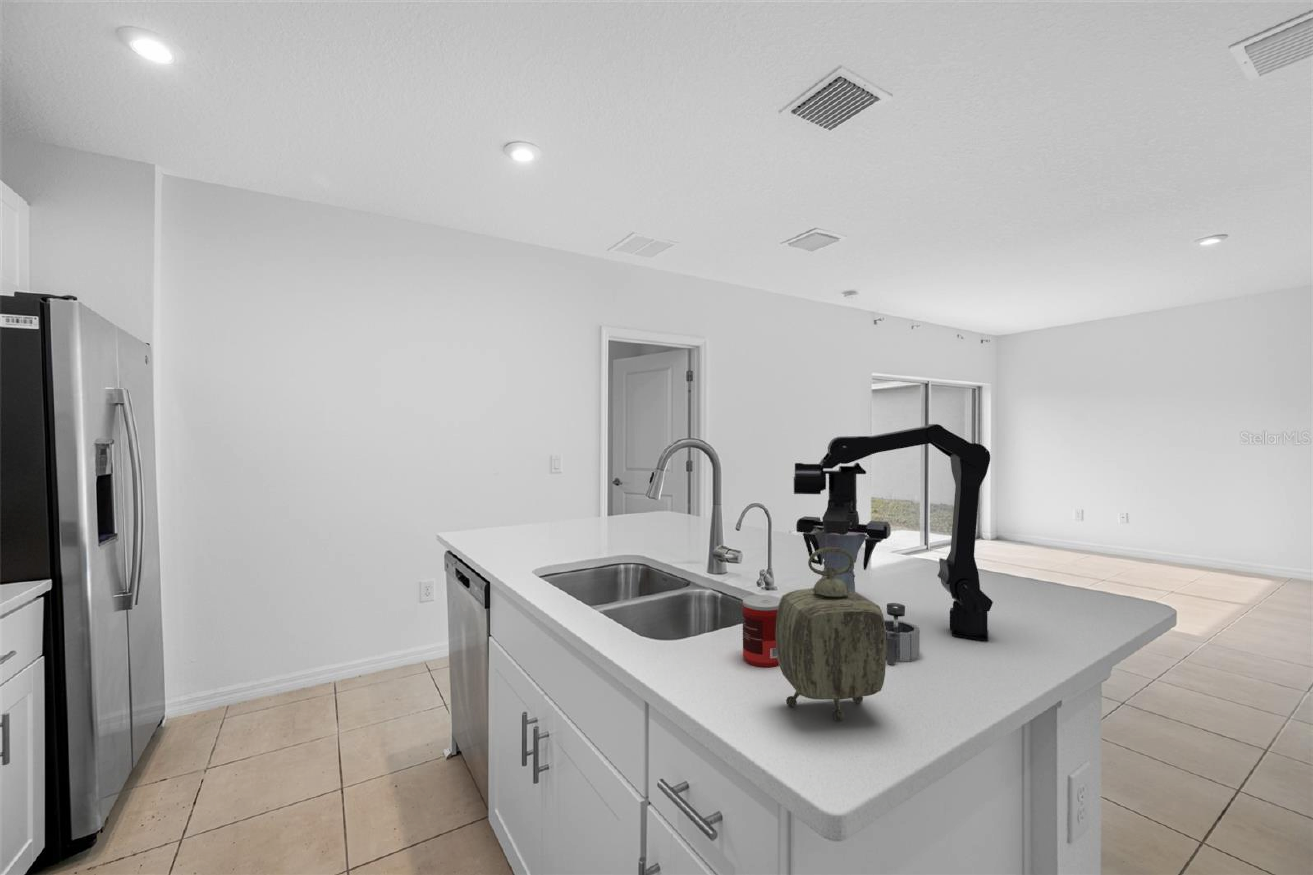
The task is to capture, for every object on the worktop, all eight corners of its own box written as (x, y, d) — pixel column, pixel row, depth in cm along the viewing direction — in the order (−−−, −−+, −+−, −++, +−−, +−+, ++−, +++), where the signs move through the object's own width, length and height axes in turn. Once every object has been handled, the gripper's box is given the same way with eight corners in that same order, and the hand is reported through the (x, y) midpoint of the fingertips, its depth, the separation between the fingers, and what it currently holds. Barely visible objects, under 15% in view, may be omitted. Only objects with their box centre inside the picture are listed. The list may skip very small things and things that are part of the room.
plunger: (911, 647, 112) (910, 604, 112) (907, 656, 108) (907, 610, 107) (884, 643, 114) (884, 600, 114) (880, 651, 110) (880, 607, 110)
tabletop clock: (863, 697, 93) (863, 540, 92) (893, 725, 84) (893, 552, 83) (775, 703, 91) (775, 543, 91) (796, 732, 82) (795, 556, 82)
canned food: (787, 653, 111) (786, 596, 111) (781, 670, 103) (781, 608, 103) (747, 649, 113) (746, 593, 113) (739, 665, 106) (738, 604, 106)
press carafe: (921, 649, 112) (921, 624, 112) (915, 669, 103) (915, 641, 103) (877, 642, 116) (876, 617, 116) (867, 661, 107) (867, 633, 107)
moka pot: (871, 607, 140) (870, 523, 139) (804, 603, 143) (804, 522, 142) (865, 595, 149) (864, 518, 149) (803, 593, 152) (802, 516, 152)
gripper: (788, 496, 123) (789, 570, 123) (882, 501, 114) (882, 581, 114) (803, 491, 132) (803, 559, 133) (890, 495, 123) (891, 569, 123)
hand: (842, 567), depth 125 cm, fingers open, 9 cm apart
